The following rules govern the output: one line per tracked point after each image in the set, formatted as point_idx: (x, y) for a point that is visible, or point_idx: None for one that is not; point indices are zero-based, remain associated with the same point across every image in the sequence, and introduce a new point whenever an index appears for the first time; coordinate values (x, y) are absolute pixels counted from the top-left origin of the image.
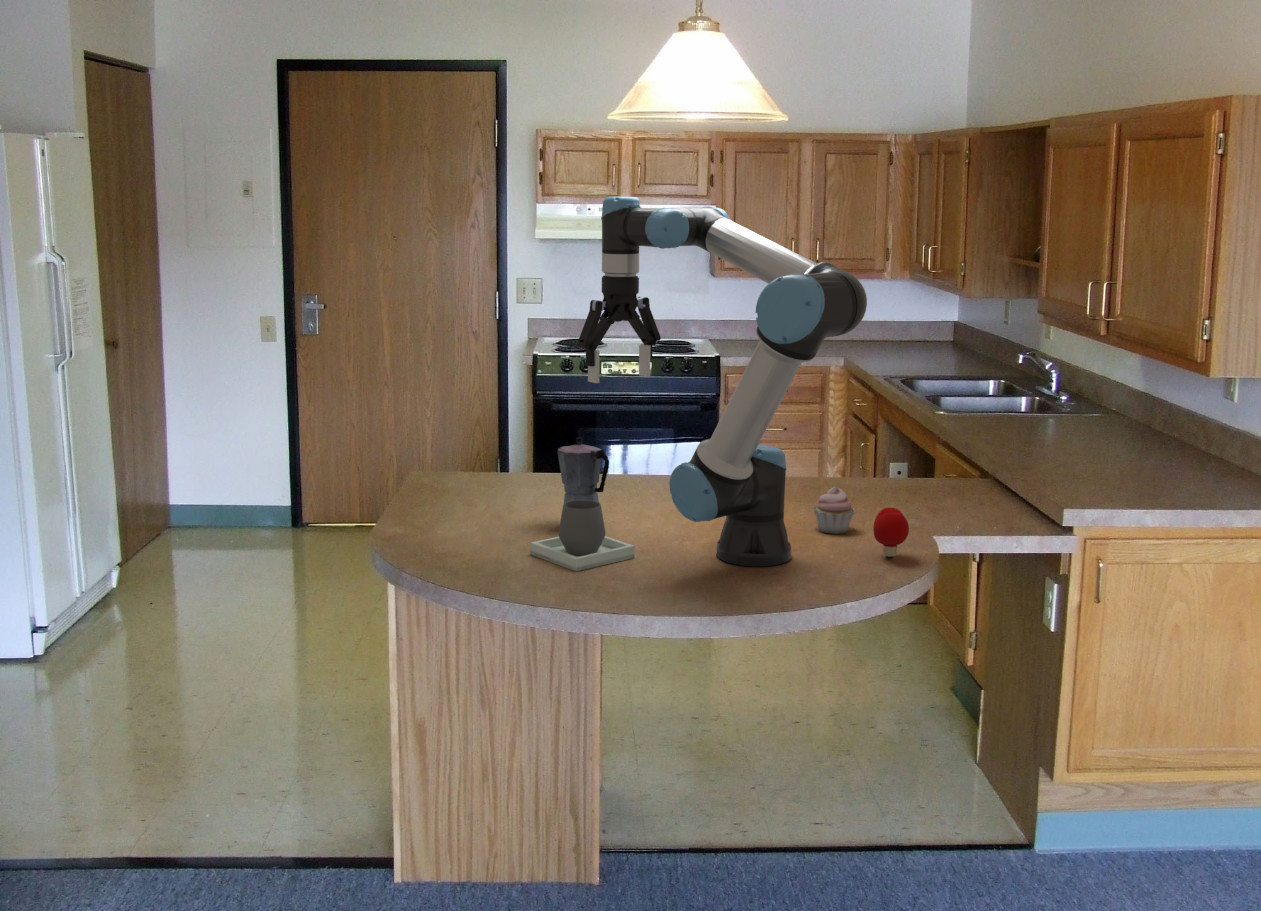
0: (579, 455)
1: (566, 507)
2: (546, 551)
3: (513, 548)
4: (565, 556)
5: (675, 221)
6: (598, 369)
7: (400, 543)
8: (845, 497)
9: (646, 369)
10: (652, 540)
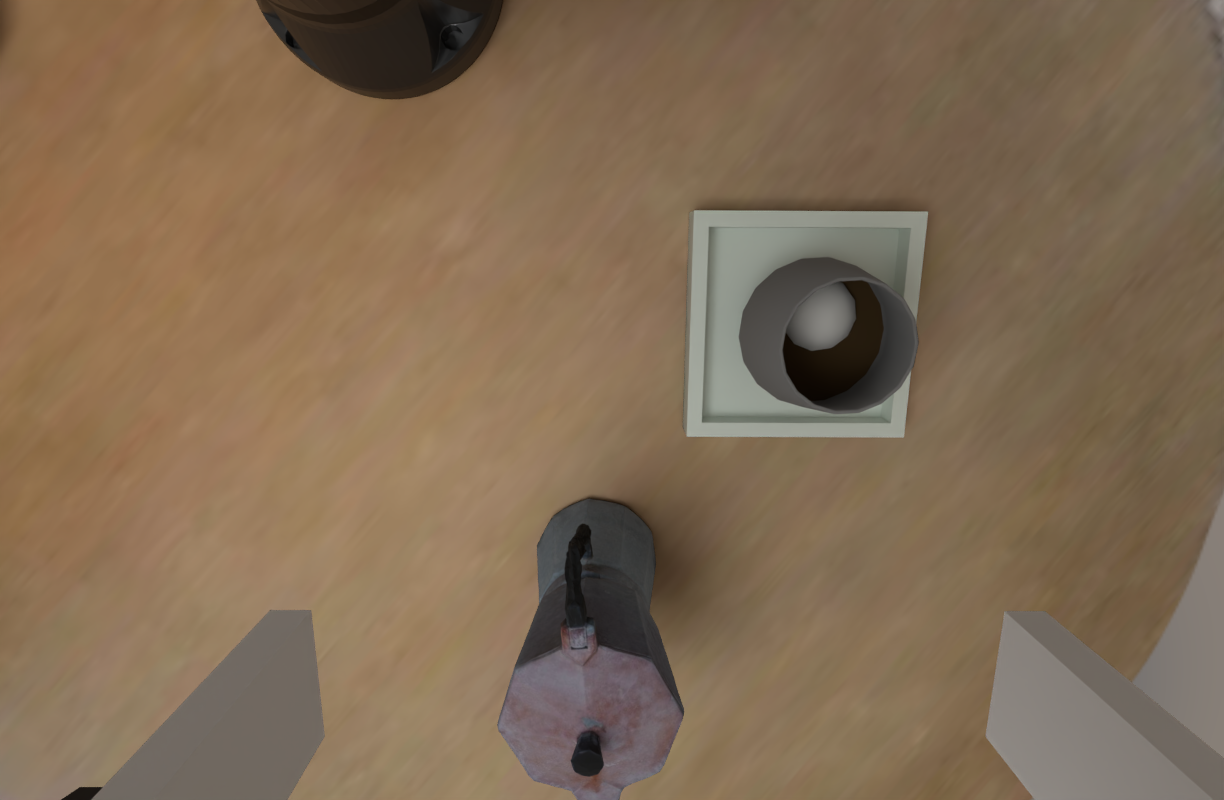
0: (649, 654)
1: (916, 352)
2: None
3: (882, 501)
4: (921, 265)
5: None
6: (1134, 712)
7: None
8: None
9: (269, 679)
10: (523, 320)
